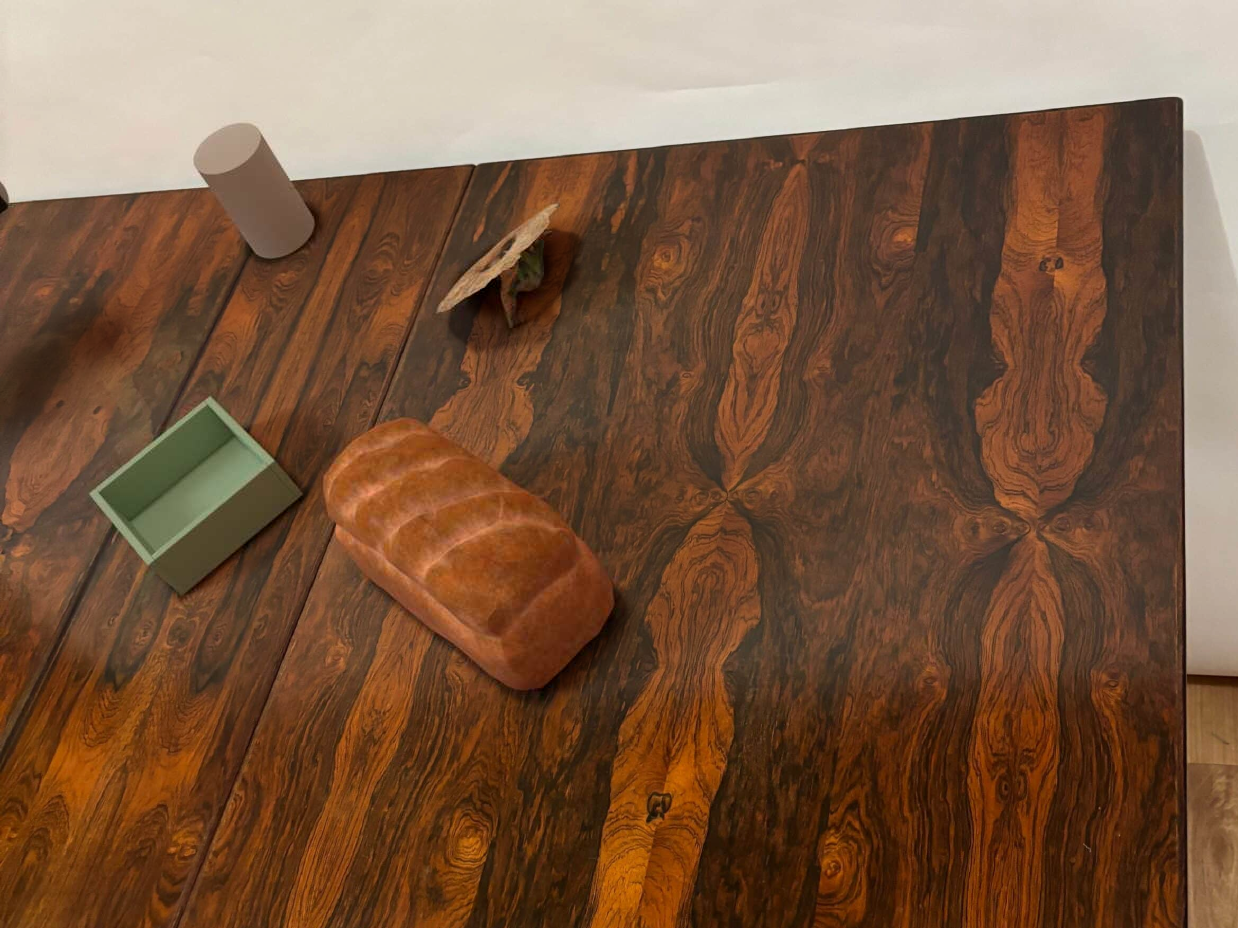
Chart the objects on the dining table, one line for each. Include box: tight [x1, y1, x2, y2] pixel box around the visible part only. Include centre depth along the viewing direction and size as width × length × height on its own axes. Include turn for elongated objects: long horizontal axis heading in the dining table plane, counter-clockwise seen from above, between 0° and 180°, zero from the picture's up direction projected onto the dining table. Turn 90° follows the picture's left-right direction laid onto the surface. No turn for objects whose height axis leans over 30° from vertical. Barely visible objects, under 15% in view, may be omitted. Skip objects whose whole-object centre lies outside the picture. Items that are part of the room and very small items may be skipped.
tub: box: [88, 395, 304, 596], centre depth 118 cm, size 16×14×6 cm
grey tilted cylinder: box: [193, 122, 315, 259], centre depth 134 cm, size 8×8×12 cm
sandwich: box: [436, 202, 561, 329], centre depth 123 cm, size 18×14×8 cm
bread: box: [322, 417, 615, 691], centre depth 102 cm, size 14×26×16 cm, turn 47°
